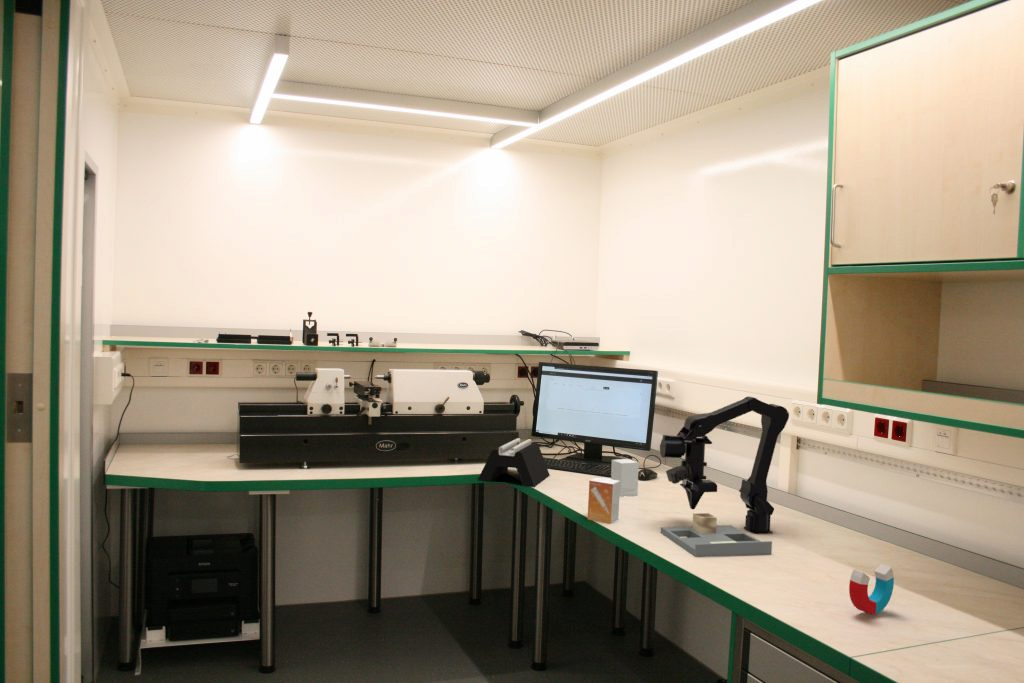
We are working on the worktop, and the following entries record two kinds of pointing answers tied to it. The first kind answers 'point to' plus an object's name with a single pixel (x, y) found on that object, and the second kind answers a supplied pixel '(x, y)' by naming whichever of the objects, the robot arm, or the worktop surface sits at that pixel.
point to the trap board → (717, 541)
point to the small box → (603, 500)
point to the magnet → (878, 596)
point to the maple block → (704, 523)
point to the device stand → (516, 463)
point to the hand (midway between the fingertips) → (692, 508)
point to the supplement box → (626, 476)
